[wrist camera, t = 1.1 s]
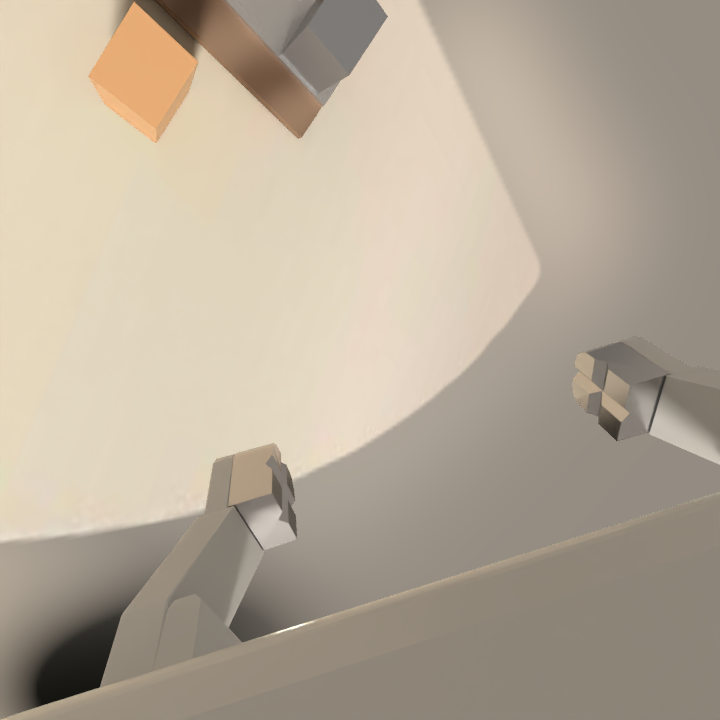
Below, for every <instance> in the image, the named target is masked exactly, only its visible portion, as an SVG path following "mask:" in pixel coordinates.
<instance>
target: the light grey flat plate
mask: <svg viewBox="0 0 720 720" xmlns="http://www.w3.org/2000/svg"><path fill="white" fill-rule="evenodd" d="M222 1H223V2H224V3H225V4H226V5H227V6H228V7H229V8H230V9H231V10H232V11H233V12H234V13H235V15H236V16H237V17H238V18H239V19H240V20H241V21H242V22H243V23H244V24H245V25H246V26H247V27H248V29H249V30H250V31H251V32H252V33H253V34H254V35H255V36H256V37H257V38H258V39H259V40H260V41H261V42H262V44H263V45H264V46H265V47H266V48H267V49H268V50H269V51H270V52H271V53H272V54H273V55H274V56H275V57H276V59H277V60H278V61H279V62H280V63H281V64H282V65H283V66H284V67H285V68H286V69H287V70H288V71H289V73H290V74H291V75H292V76H293V77H294V78H295V79H296V80H297V81H298V82H299V83H300V84H301V85H302V86H303V88H304V89H305V90H306V91H307V92H308V93H309V94H310V95H311V96H312V97H313V98H314V99H315V100H316V101H317V103H318V104H319V105H320V106H321V107H323V106H324V105H325V104H326V102H327V100H328V99H329V97H330V96H331V94H332V93H333V91H334V90H335V88H336V87H337V85H338V84H339V82H340V81H341V80H340V81H339V82H337V83H335V84H334V85H332V86H330V87H329V88H327V89H325V90H324V91H322V92H320V93H319V94H316V93H315V91H314V90H313V89H312V88H311V87H310V86H309V85H308V84H307V83H306V82H305V81H304V80H303V78H302V77H301V76H300V75H299V74H298V73H297V72H296V71H295V70H294V69H293V68H292V66H291V65H290V64H289V63H288V62H287V61H286V60H285V59H284V58H283V57H282V56H281V54H282V52H283V51H284V49H285V47H286V46H287V44H288V43H289V41H290V40H291V38H292V37H293V35H294V33H295V32H296V30H297V29H298V27H299V26H300V24H301V23H302V21H303V19H304V18H305V16H306V15H307V13H308V12H309V10H310V9H311V7H312V6H313V4H314V2H315V1H316V0H222Z"/></svg>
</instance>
